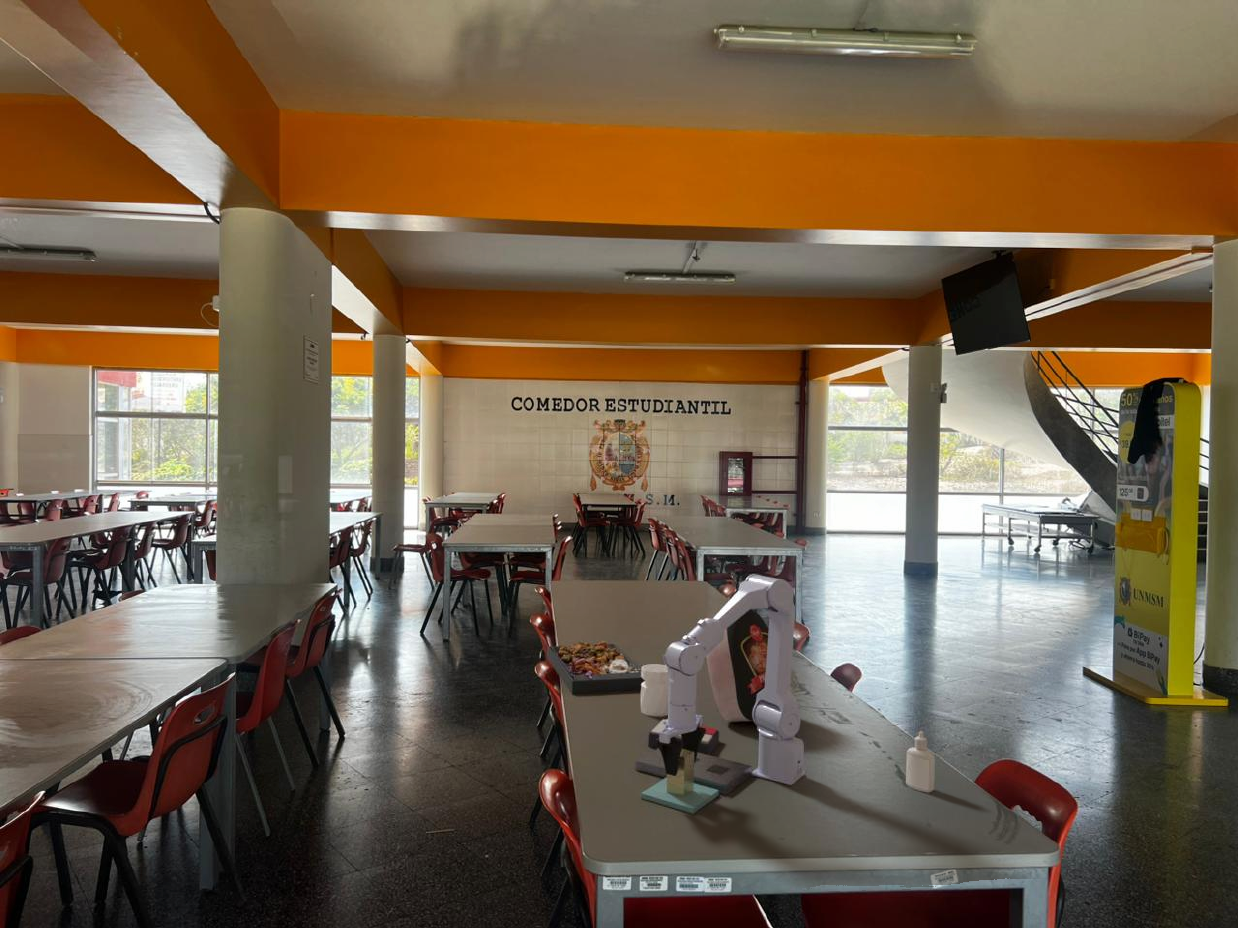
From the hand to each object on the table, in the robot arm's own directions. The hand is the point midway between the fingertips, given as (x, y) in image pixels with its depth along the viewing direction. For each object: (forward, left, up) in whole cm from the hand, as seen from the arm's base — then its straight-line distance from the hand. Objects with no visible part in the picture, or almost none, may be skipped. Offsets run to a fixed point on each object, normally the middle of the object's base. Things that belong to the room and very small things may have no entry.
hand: (680, 768), depth 161 cm
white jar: (+33, -45, -6) cm, 56 cm away
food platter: (+70, -68, -7) cm, 98 cm away
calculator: (+14, -27, -6) cm, 32 cm away
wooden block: (0, 0, -5) cm, 5 cm away
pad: (0, 0, -6) cm, 6 cm away
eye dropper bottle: (-39, -35, -6) cm, 53 cm away
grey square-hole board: (+4, -13, -6) cm, 15 cm away
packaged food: (+11, -55, -6) cm, 56 cm away
